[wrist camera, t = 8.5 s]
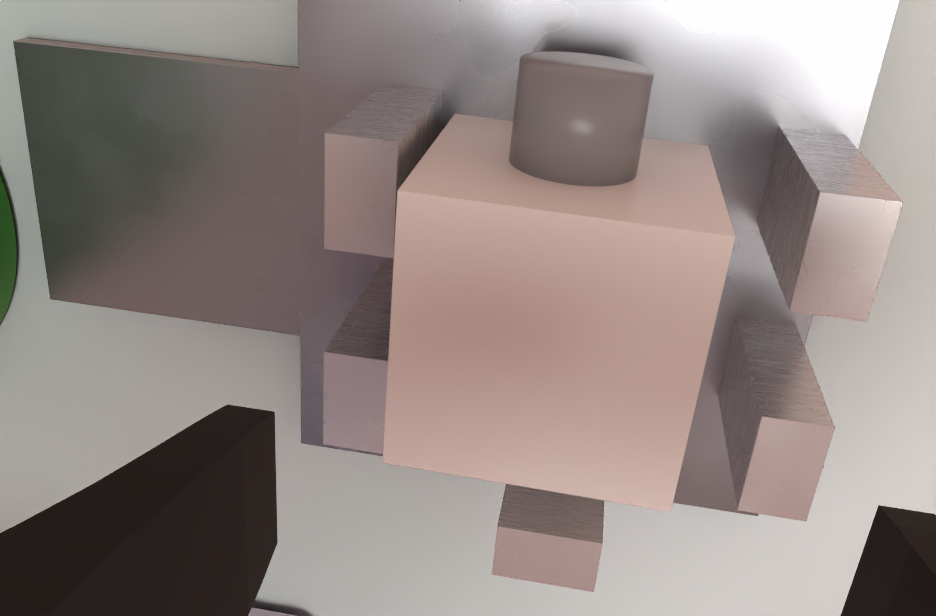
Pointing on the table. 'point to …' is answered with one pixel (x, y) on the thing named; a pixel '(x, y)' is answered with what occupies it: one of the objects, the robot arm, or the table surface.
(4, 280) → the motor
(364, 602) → the table surface
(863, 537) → the table surface
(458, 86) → the grey peg tray
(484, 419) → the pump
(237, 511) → the robot arm
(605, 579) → the table surface
